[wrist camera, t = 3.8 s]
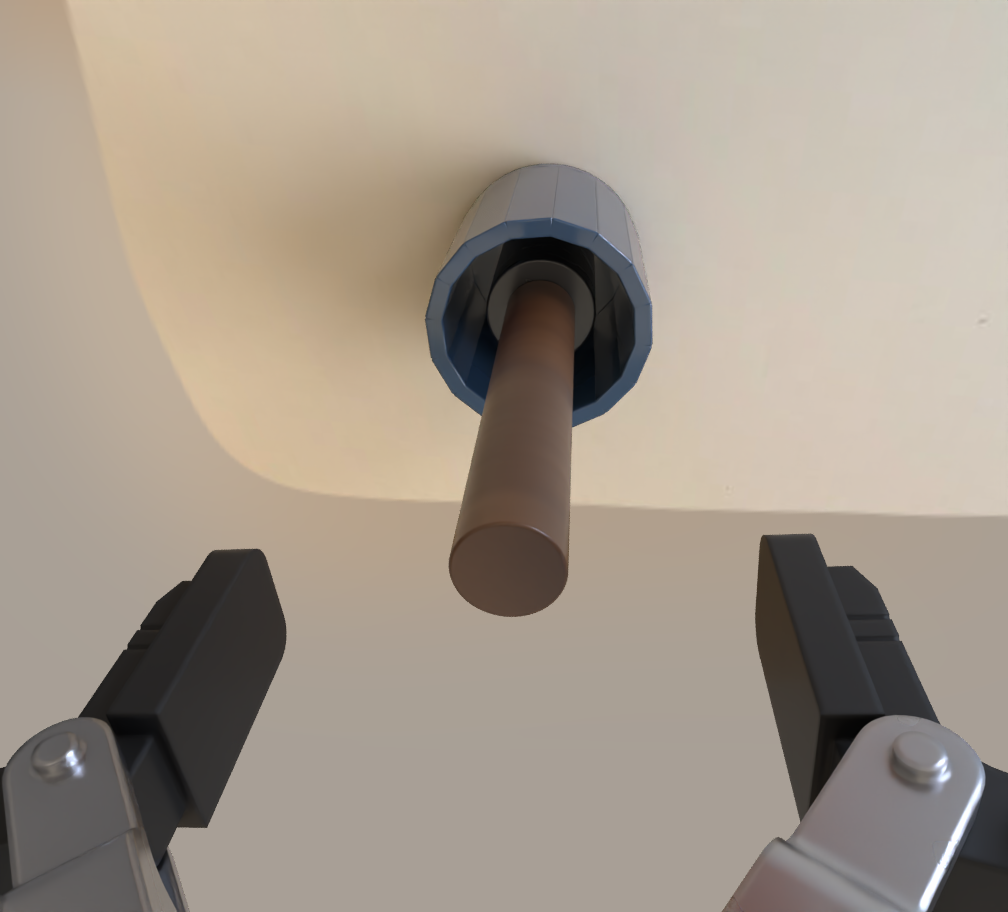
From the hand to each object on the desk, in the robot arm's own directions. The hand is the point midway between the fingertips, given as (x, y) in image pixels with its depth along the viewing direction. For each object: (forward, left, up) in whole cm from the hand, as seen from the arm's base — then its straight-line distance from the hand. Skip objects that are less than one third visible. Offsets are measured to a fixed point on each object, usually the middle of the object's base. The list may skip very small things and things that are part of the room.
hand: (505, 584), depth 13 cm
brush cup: (0, 0, -18) cm, 18 cm away
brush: (0, 0, -17) cm, 17 cm away
